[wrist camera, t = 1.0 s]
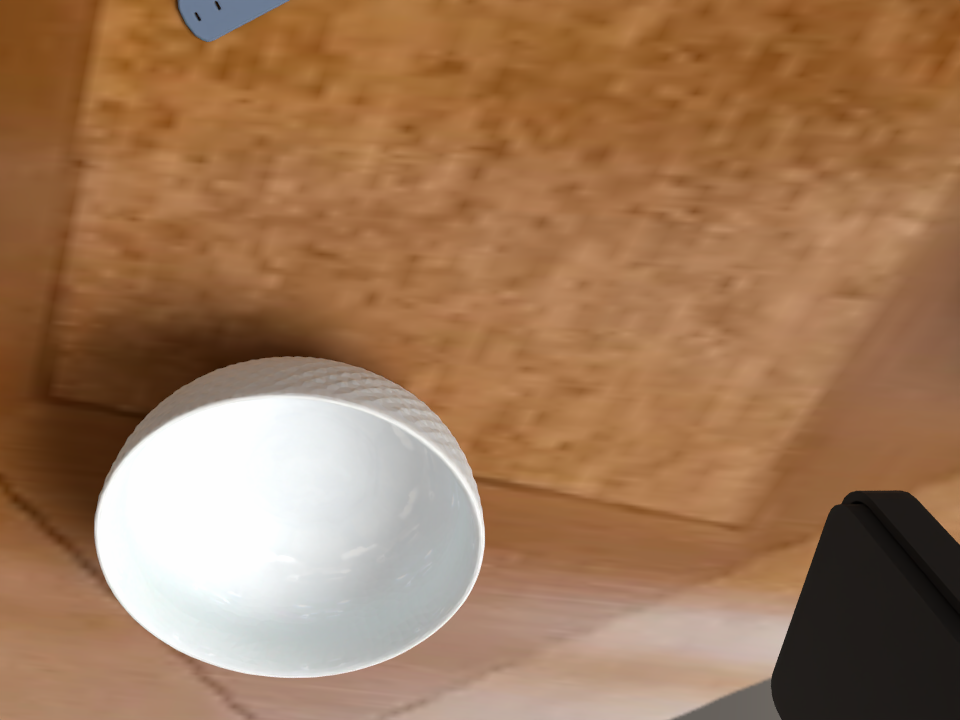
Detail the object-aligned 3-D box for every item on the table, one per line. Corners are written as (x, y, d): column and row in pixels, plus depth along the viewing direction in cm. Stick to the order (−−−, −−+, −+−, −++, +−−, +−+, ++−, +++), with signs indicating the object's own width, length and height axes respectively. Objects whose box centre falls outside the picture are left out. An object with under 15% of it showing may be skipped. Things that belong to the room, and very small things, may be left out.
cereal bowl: (70, 492, 43) (20, 595, 37) (246, 243, 37) (222, 316, 31) (351, 621, 49) (348, 727, 43) (536, 425, 44) (562, 516, 38)
